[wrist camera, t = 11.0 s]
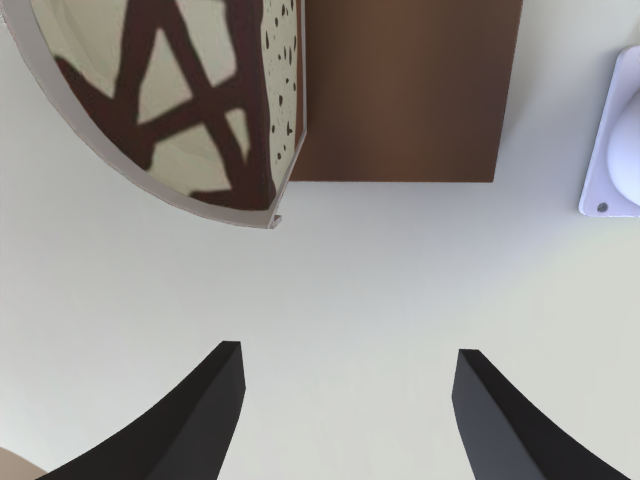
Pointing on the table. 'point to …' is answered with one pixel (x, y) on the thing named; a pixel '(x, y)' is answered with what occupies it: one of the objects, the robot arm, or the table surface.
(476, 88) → the walnut board
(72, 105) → the food container
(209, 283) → the table surface
